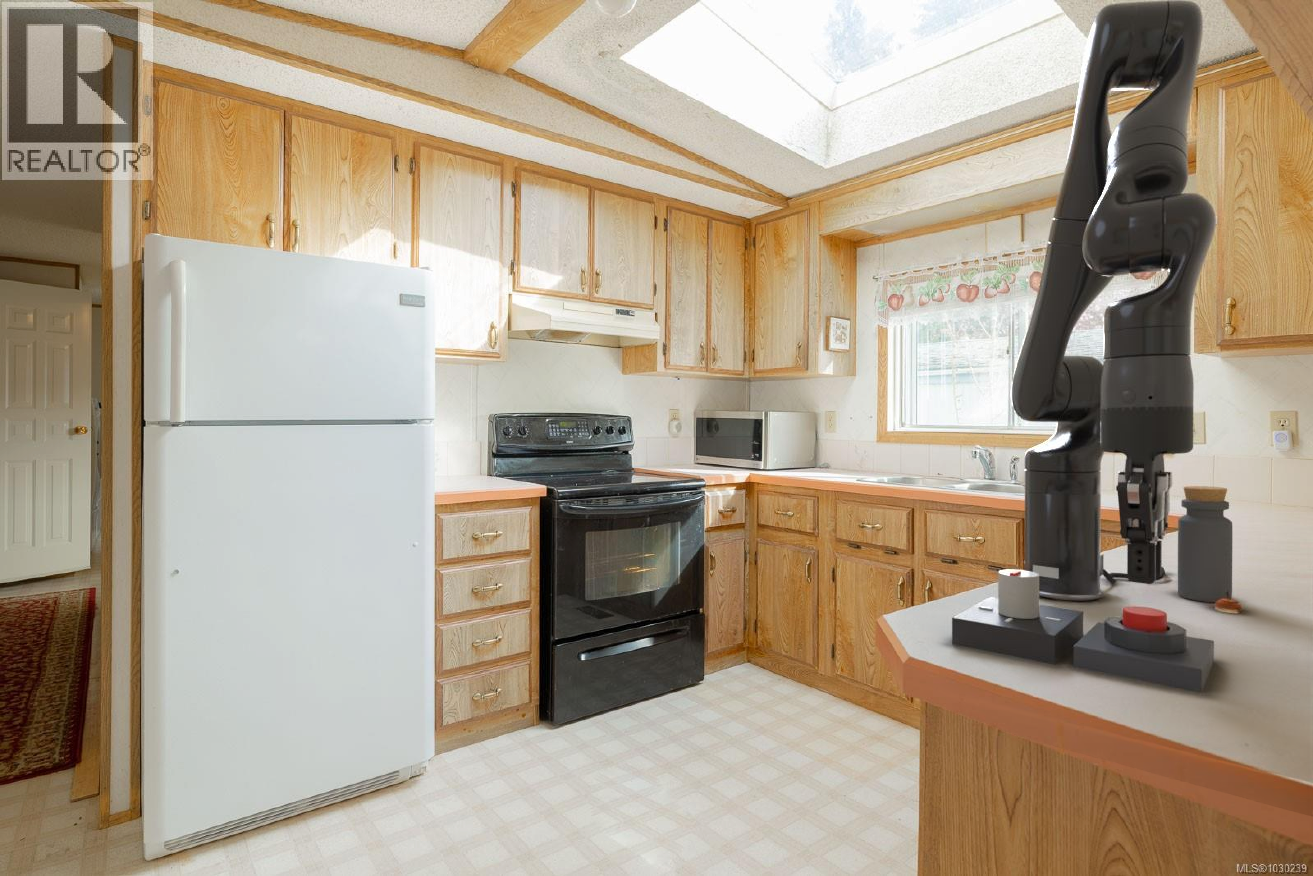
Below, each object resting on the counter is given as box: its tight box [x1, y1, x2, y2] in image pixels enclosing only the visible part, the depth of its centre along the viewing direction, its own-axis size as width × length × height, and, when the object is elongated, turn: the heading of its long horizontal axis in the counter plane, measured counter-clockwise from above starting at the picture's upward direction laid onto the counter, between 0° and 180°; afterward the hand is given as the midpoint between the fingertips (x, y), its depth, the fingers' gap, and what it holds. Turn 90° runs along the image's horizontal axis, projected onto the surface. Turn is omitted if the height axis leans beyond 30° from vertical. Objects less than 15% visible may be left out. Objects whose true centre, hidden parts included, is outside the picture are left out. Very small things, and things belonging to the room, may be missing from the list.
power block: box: [1072, 615, 1215, 693], centre depth 70 cm, size 11×10×4 cm
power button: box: [1122, 605, 1168, 631], centre depth 70 cm, size 4×4×2 cm
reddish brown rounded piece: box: [1214, 589, 1243, 614], centre depth 89 cm, size 3×3×3 cm
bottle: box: [1177, 485, 1233, 603], centre depth 96 cm, size 6×6×15 cm
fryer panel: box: [951, 596, 1084, 666], centre depth 78 cm, size 12×10×3 cm
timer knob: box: [997, 569, 1040, 619], centre depth 77 cm, size 4×4×5 cm
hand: (1144, 578), depth 70 cm, fingers open, 3 cm apart
